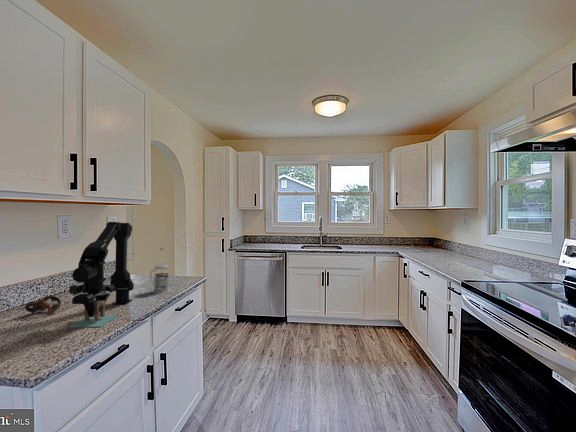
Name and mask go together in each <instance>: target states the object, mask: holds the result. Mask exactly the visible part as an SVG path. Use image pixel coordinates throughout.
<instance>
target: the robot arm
mask: <svg viewBox="0 0 576 432" xmlns="http://www.w3.org/2000/svg"><path fill="white" fill-rule="evenodd" d="M132 232H133V225H132V224H130V222H119V221H108V222H106V226H105V228H104V229H103V230H102V231H101V232H100V234H99V236H98V237H97V239H96V240H94V241H93V242H90V243H89V244H88V245H87V246H86V247H85V248H84V250H83V252H82V253H81V256H80V258H79V261H78V267H77V268H75V269H74V270H73V272H72V279H73V281H74V282H77V283H80V284H79V285H78V284H77V283H75V284H72V285H70V286H69V289H68V293H69V294H70V295H72V296H73V297H72V299H71V304H72V305H82V306H84V309H85V308H86V310H87V313H88V315H89V317H93V314H94V311H95V308H96V305H97V302H98V300H105V303H106V302H107V301H108V299H109V297H110V296H111V293H113V292H115V301H114V302H112V305H127V304H129V303H130V302H132V301H133V299H131V298H130V292H131V291H133V290H134V287H135V285H134V282H133V280H132V279H131V273H130V272H129V271H128V267H127V266H128V240H129V238H130V237H132ZM113 239H114V240H115V265H114V266H115V271H114V272H113V274H111V275H110V282H109V284H104V282H105V281H106V280H107V277H105V276H104V272H105V271H104V270H105V269H104V268H105V267H104V265H105V264H106V261H105V260H106V258H107V256H108V253H109V250H108V249H109V248H108V246H109V245H110V244H111V241H113ZM81 283H82V284H81ZM108 292H109V293H108ZM99 313H100V306H99Z"/></svg>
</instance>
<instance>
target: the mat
mask: <svg viewBox="0 0 576 432" xmlns="http://www.w3.org/2000/svg"><path fill="white" fill-rule="evenodd" d="M118 317H119V316H118V314H117V315H115V314H113V315H111V314H109V315H108V314H107V315H106V314H105V316H104V317H100V314H99V320H94V317H89V320H88V321H84V318H81V319H80V320H78V321H76V322H75V323H72V324H71V325H69V328H102V327H104V326H106V325H107V324H108V323H110V322H111V321H113V320H115V319H116V318H118Z"/></svg>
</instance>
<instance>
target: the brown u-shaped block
mask: <svg viewBox="0 0 576 432" xmlns="http://www.w3.org/2000/svg"><path fill="white" fill-rule="evenodd" d="M105 304H106V302H105V300H98V302H97V305H96V308H95V311H94V314H93V317H94V320H99V315H100V317H104V316H105V315H106V311H105V309H106V305H105ZM99 306H100V312H99ZM83 315H84V318H83V319H84V321H88V320H89V315H88V313H87V310H86V308H85V307H84V314H83Z"/></svg>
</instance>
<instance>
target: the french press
mask: <svg viewBox="0 0 576 432" xmlns="http://www.w3.org/2000/svg"><path fill="white" fill-rule="evenodd" d="M159 249H160V251H163V250H164V247H160V248H159ZM169 268H170V266H169V265H167V264H163V263H161V264H157V265H156V266H154V267H153V269H152V270H151V271H150V272H149V277H148V278H149V280H150V281H152V280H153V281H152V283H153V290H152V292H153V293H152V294H165V293H169V292H171V289H170V276H169V273H168V272H164V273H163V272H159V273H158V272H157V270H166V269H167V270H168V269H169ZM153 272H154V273H155V274H154V278H153V277H152V276H151V275H152V274H153Z"/></svg>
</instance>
